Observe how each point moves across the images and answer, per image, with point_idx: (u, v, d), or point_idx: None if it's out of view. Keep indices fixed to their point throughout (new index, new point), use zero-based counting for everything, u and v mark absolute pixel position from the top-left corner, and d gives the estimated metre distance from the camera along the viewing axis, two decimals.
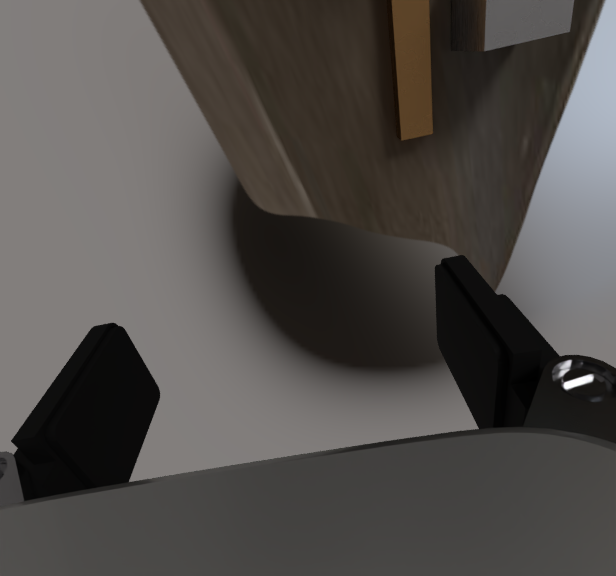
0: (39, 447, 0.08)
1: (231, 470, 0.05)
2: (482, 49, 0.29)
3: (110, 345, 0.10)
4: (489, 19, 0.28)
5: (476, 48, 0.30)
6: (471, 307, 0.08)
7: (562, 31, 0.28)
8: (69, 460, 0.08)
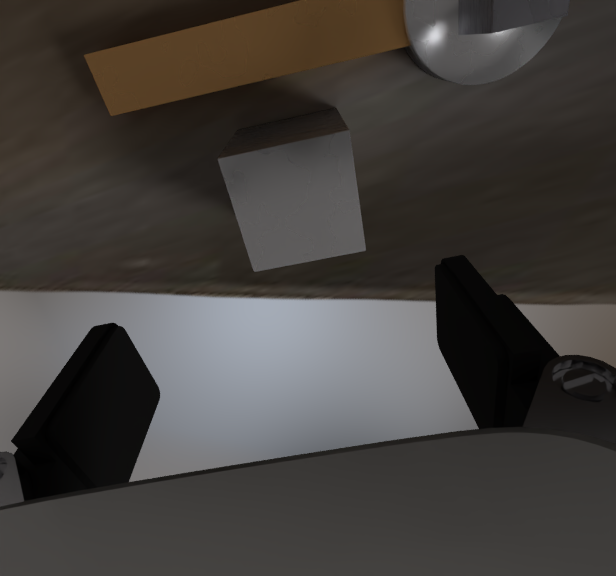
0: (39, 447, 0.08)
1: (231, 470, 0.05)
2: (221, 156, 0.18)
3: (110, 345, 0.10)
4: (259, 156, 0.18)
5: (226, 150, 0.19)
6: (471, 307, 0.08)
7: (253, 263, 0.21)
8: (69, 460, 0.08)
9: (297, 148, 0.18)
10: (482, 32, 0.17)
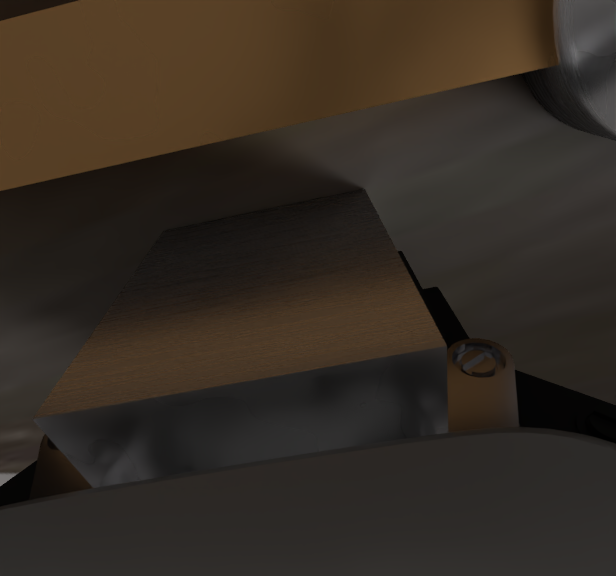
0: None
1: (231, 470, 0.05)
2: (52, 399, 0.06)
3: None
4: (162, 409, 0.06)
5: (87, 350, 0.07)
6: None
7: None
8: None
9: (280, 389, 0.06)
10: None
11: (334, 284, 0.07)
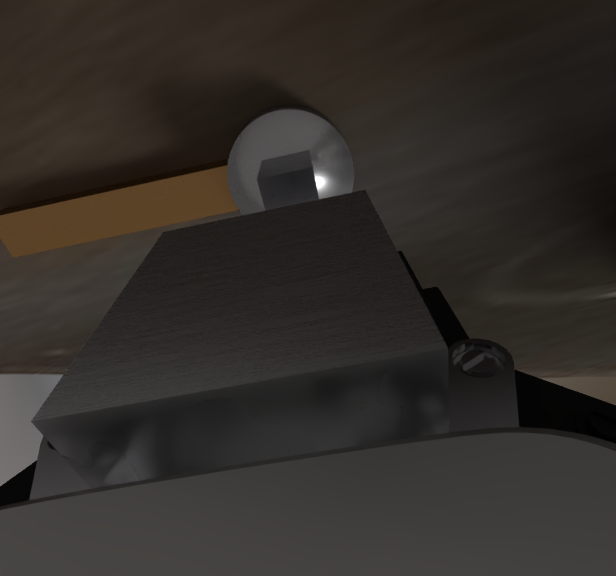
0: None
1: (231, 470, 0.05)
2: (51, 401, 0.06)
3: None
4: (162, 411, 0.06)
5: (86, 352, 0.07)
6: None
7: None
8: None
9: (279, 391, 0.06)
10: None
11: (334, 285, 0.07)
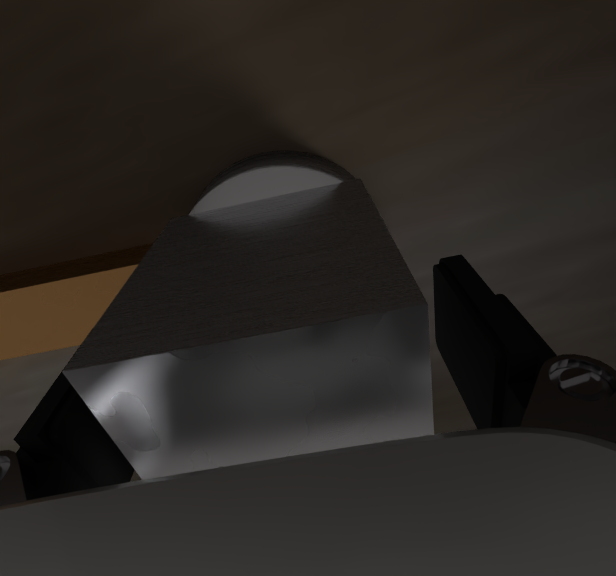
0: (42, 445, 0.08)
1: (231, 470, 0.05)
2: (78, 356, 0.07)
3: None
4: (177, 363, 0.07)
5: (107, 318, 0.08)
6: (469, 307, 0.08)
7: None
8: (71, 458, 0.08)
9: (281, 344, 0.06)
10: None
11: (330, 258, 0.08)
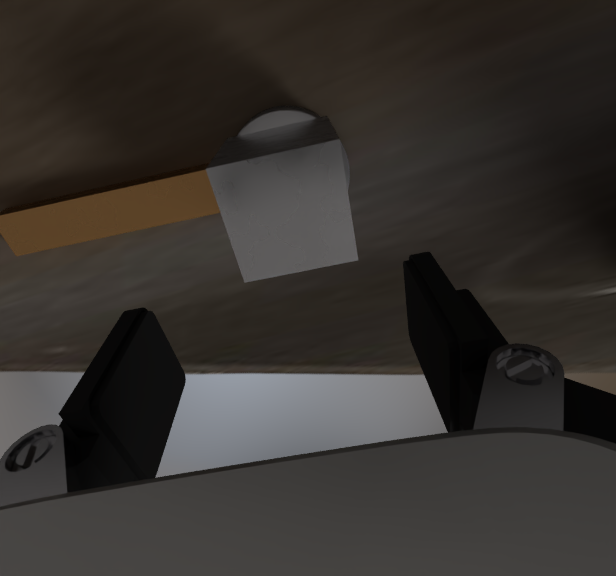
0: (84, 420, 0.08)
1: (231, 470, 0.05)
2: (209, 166, 0.18)
3: (142, 328, 0.11)
4: (248, 166, 0.18)
5: (214, 160, 0.19)
6: (430, 300, 0.09)
7: (243, 273, 0.20)
8: (111, 434, 0.09)
9: (287, 157, 0.17)
10: None
11: (307, 136, 0.19)
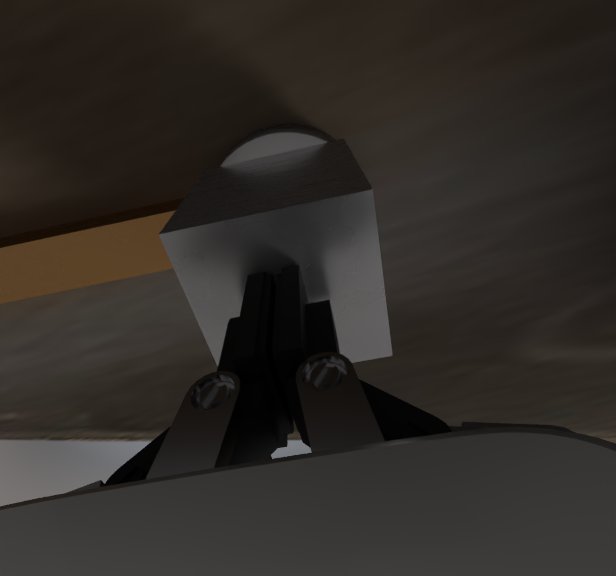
0: (252, 367, 0.09)
1: (231, 470, 0.05)
2: (165, 228, 0.11)
3: (271, 290, 0.11)
4: (226, 229, 0.11)
5: (177, 214, 0.12)
6: (278, 311, 0.10)
7: None
8: (270, 383, 0.09)
9: (288, 216, 0.11)
10: None
11: (319, 177, 0.12)
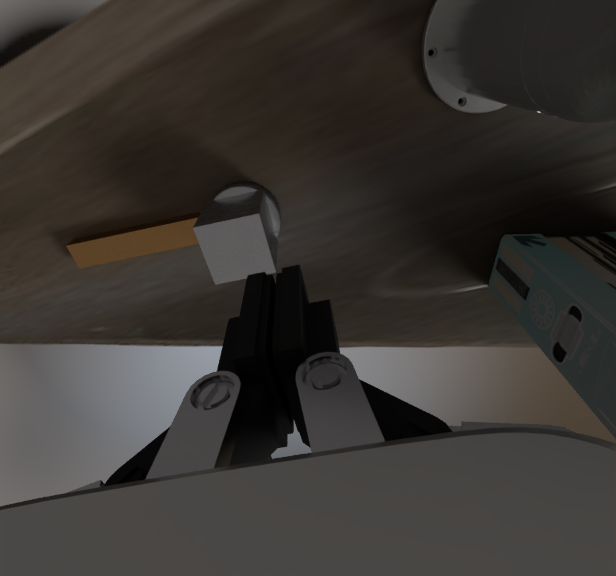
0: (252, 367, 0.09)
1: (231, 470, 0.05)
2: (194, 225, 0.35)
3: (270, 290, 0.11)
4: (214, 226, 0.35)
5: (197, 221, 0.36)
6: (278, 311, 0.10)
7: (214, 279, 0.38)
8: (270, 383, 0.09)
9: (233, 222, 0.35)
10: None
11: (246, 208, 0.36)
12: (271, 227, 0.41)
